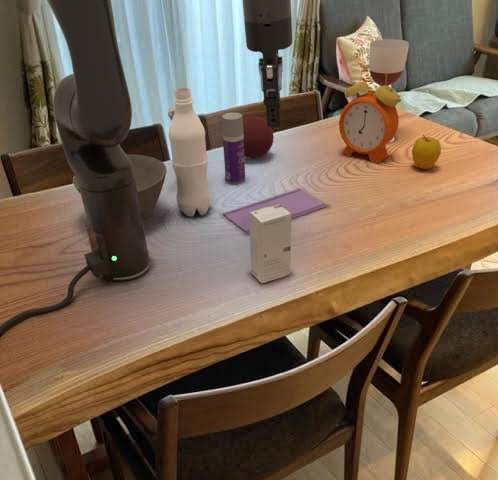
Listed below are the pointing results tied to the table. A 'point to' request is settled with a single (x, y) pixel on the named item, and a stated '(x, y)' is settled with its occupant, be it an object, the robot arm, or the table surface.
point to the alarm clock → (369, 120)
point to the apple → (426, 152)
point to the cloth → (291, 201)
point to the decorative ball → (256, 137)
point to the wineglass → (387, 60)
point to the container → (233, 148)
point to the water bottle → (189, 155)
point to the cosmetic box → (270, 243)
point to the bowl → (145, 180)
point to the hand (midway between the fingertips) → (274, 117)
